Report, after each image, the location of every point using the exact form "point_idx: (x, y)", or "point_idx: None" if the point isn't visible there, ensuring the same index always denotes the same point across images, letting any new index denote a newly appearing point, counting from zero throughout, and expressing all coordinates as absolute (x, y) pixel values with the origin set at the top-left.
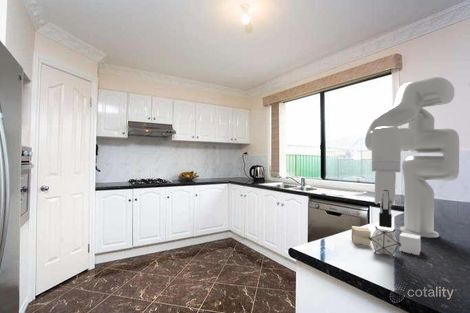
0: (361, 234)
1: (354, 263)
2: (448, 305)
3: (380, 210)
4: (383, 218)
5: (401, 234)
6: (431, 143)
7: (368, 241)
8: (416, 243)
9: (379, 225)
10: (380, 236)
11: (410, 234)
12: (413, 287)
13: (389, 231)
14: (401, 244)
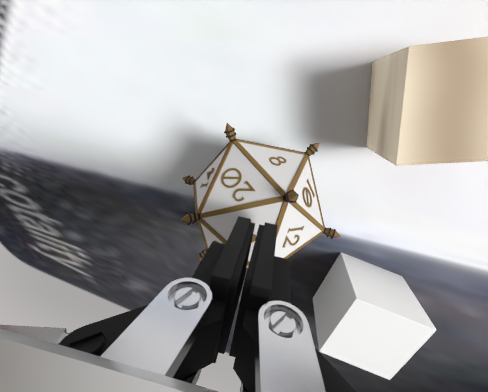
0: (391, 103)
1: (96, 47)
2: (2, 235)
3: (149, 304)
4: (198, 271)
5: (382, 312)
6: None
7: (374, 141)
8: (320, 326)
9: (238, 217)
10: (204, 190)
11: (399, 350)
12: (37, 197)
13: None
14: (343, 275)
